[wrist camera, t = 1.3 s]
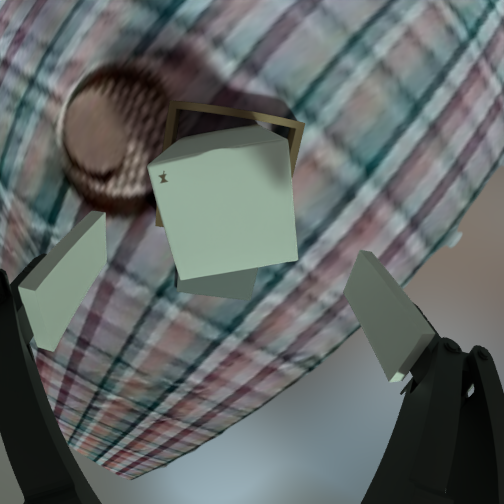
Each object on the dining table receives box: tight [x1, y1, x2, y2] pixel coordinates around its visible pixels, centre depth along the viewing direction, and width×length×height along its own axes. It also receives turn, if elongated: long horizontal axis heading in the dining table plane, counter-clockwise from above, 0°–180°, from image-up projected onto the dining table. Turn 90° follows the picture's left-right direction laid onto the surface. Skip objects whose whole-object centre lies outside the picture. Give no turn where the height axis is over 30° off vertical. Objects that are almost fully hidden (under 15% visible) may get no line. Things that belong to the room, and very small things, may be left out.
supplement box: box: [147, 124, 298, 280], centre depth 25 cm, size 9×9×15 cm
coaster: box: [177, 267, 258, 300], centre depth 37 cm, size 10×10×1 cm
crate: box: [155, 100, 305, 227], centre depth 30 cm, size 14×14×3 cm
